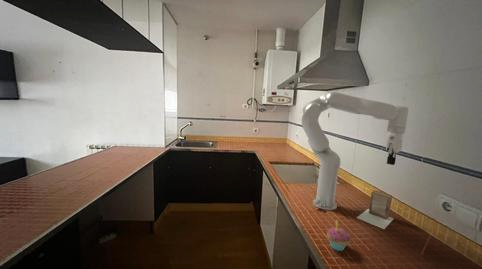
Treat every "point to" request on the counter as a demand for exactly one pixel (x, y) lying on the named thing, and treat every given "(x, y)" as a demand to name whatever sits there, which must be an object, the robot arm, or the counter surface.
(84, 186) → the counter surface
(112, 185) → the counter surface
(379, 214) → the slab
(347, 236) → the cupcake
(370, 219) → the mat
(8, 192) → the counter surface
